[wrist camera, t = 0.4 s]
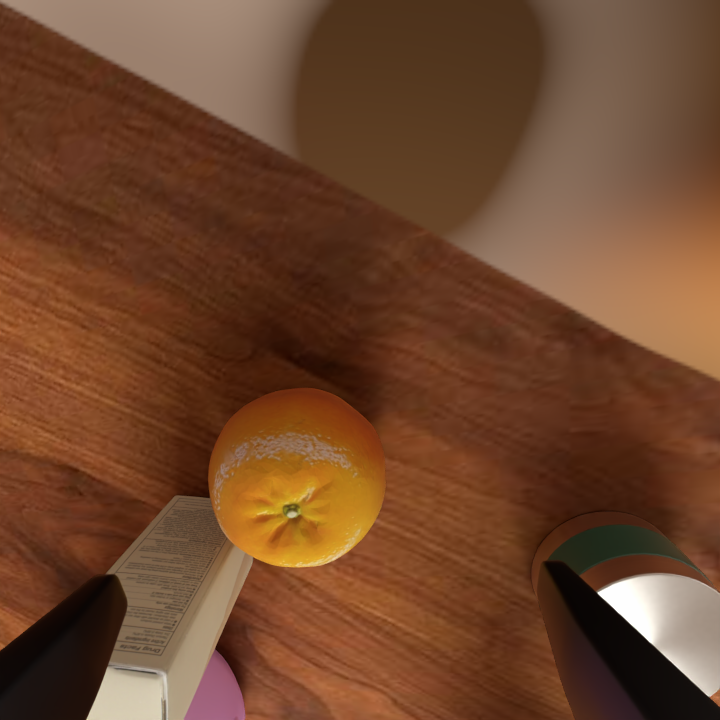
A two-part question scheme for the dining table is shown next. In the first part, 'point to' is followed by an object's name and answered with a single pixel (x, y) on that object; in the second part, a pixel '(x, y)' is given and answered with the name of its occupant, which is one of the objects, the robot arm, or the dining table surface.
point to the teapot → (217, 694)
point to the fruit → (297, 477)
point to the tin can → (644, 586)
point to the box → (170, 612)
